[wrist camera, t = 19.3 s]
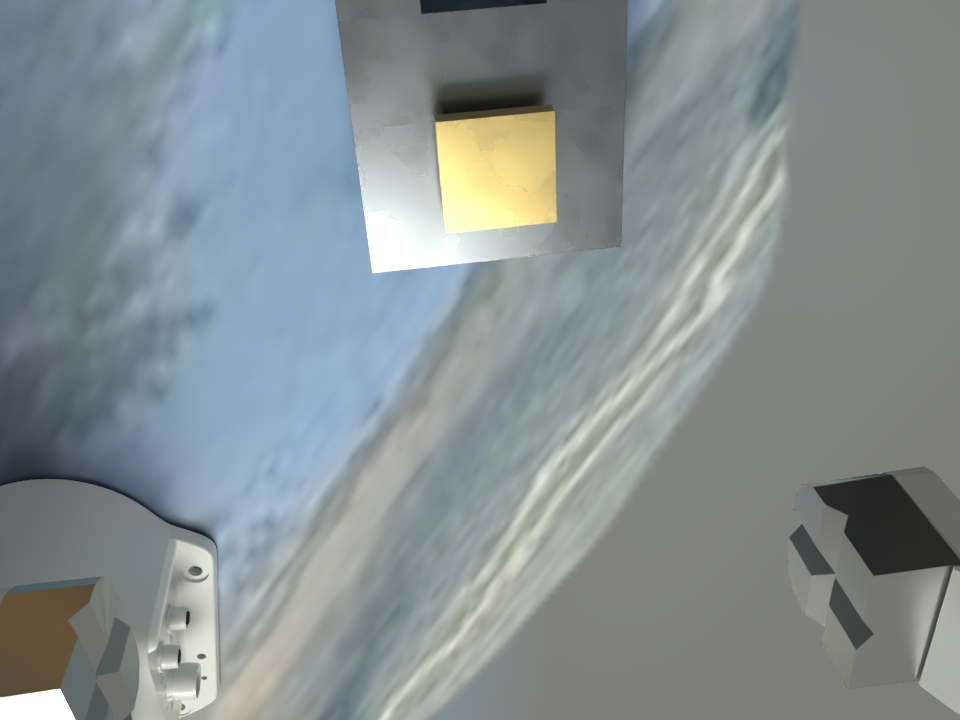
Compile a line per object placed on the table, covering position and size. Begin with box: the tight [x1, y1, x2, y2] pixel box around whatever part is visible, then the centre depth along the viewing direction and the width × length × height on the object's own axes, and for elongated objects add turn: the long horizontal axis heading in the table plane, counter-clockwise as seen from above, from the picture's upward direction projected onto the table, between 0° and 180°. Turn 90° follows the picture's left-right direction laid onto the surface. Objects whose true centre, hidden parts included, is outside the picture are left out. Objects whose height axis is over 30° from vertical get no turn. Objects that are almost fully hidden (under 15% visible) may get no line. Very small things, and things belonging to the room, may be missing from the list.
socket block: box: [335, 0, 627, 273], centre depth 40 cm, size 20×12×6 cm, turn 4°
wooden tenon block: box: [434, 104, 557, 234], centre depth 42 cm, size 5×5×8 cm
